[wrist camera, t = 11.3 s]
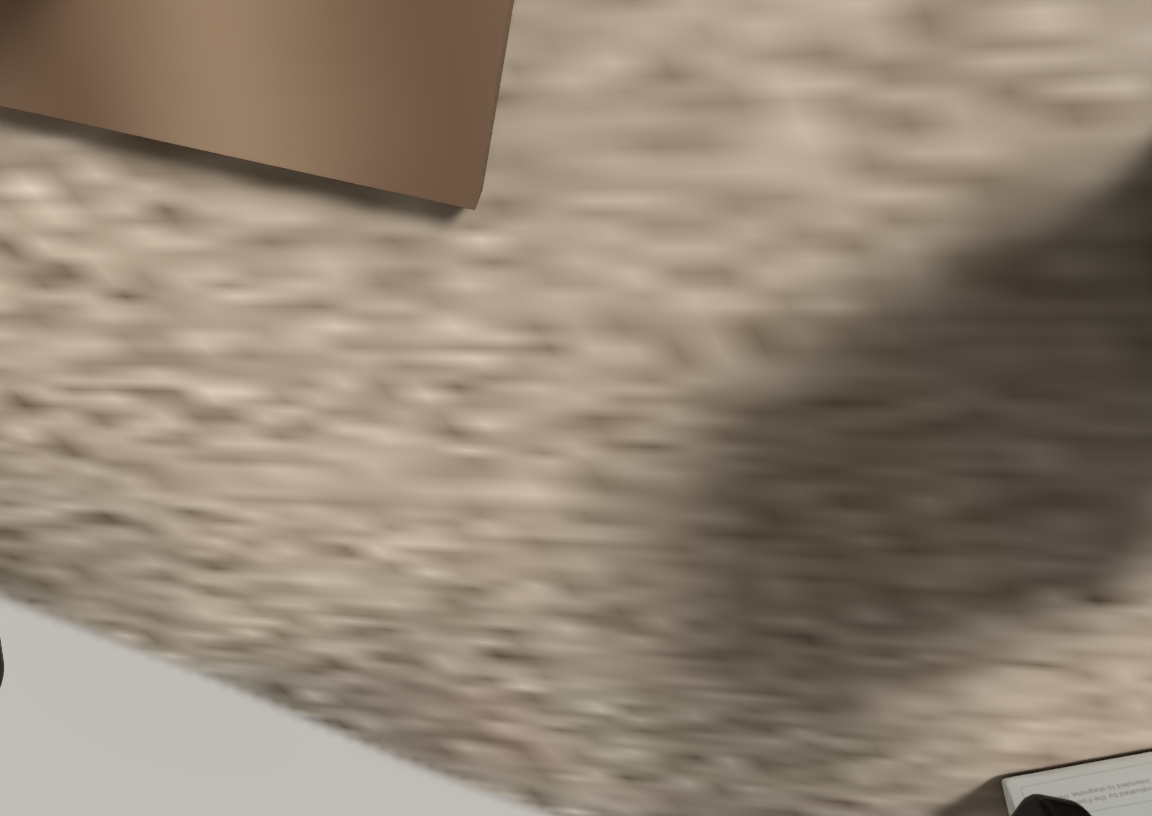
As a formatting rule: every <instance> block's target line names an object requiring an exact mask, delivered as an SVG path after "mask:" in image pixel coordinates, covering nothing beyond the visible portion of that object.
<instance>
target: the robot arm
mask: <svg viewBox="0 0 1152 816" xmlns="http://www.w3.org/2000/svg"><path fill="white" fill-rule="evenodd" d="M3 674H4V661H3V654H2V647H1V640H0V686H1V683H2V679H3ZM1011 816H1092V815H1091V814H1090V813H1089V812H1088V811H1087V810H1086V809H1085V808H1084V807H1082V806H1081V805H1080V804H1078V803H1076V802H1074V801H1072V800H1068V799H1064V798H1058V797H1053V796H1048V795H1042V794H1031V795H1029V796H1027V797H1025V798H1024V799H1023V800H1022V801H1021V802H1020V804H1019V805H1018V807H1017V808H1016V809H1015V811H1014V812H1013V813H1012V815H1011Z"/></svg>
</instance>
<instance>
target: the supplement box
mask: <svg viewBox="0 0 1152 816" xmlns="http://www.w3.org/2000/svg"><path fill="white" fill-rule="evenodd" d="M1002 786H1003V790H1004V795H1005V799H1006V803H1007V808H1008V813H1009V816H1011V815H1012V813H1013V812H1014V811H1015V809H1016V808H1017V807H1018V805H1019V804H1020V802H1021V801H1022V800H1023V799H1024V798H1025V797H1027V796H1029V795H1031V794H1042V795H1048V796H1053V797H1058V798H1064V799H1068V800H1072V801H1074V802H1076V803H1078V804H1080V805H1081V806H1082V807H1084V808H1085V809H1086V810H1087V811H1088V812H1089V813H1090V814H1091V815H1092V816H1152V752H1146V753H1141V754H1135V755H1130V756H1124V757H1119V758H1113V759H1108V760H1102V761H1096V762H1091V763H1085V764H1080V765H1074V766H1069V767H1063V768H1057V769H1052V770H1046V771H1041V772H1036V773H1031V774H1025V775H1019V776H1014V777H1009V778H1004V779H1003V780H1002Z"/></svg>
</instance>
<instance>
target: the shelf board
mask: <svg viewBox="0 0 1152 816" xmlns="http://www.w3.org/2000/svg"><path fill="white" fill-rule="evenodd" d="M513 4H514V0H0V106H4V107H8V108H13V109H17V110H22V111H27V112H31V113H36V114H40V115H45V116H49V117H54V118H58V119H63V120H67V121H72V122H77V123H81V124H86V125H90V126H95V127H99V128H104V129H108V130H113V131H118V132H122V133H127V134H131V135H136V136H140V137H145V138H149V139H154V140H158V141H163V142H168V143H172V144H177V145H181V146H186V147H190V148H195V149H199V150H204V151H209V152H213V153H218V154H222V155H227V156H231V157H236V158H240V159H245V160H250V161H254V162H259V163H263V164H268V165H272V166H277V167H281V168H286V169H290V170H295V171H300V172H304V173H309V174H313V175H318V176H322V177H327V178H331V179H336V180H341V181H345V182H350V183H354V184H359V185H363V186H368V187H372V188H377V189H381V190H386V191H391V192H395V193H400V194H404V195H409V196H413V197H418V198H422V199H427V200H432V201H436V202H441V203H445V204H450V205H454V206H459V207H463V208H468V209H472V210H475V208H476V206H477V203H478V200H479V198H480V195H481V192H482V189H483V183H484V177H485V171H486V165H487V159H488V153H489V147H490V141H491V135H492V129H493V123H494V117H495V111H496V105H497V99H498V93H499V87H500V81H501V75H502V69H503V63H504V57H505V51H506V45H507V39H508V33H509V28H510V22H511V16H512V10H513Z"/></svg>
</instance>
